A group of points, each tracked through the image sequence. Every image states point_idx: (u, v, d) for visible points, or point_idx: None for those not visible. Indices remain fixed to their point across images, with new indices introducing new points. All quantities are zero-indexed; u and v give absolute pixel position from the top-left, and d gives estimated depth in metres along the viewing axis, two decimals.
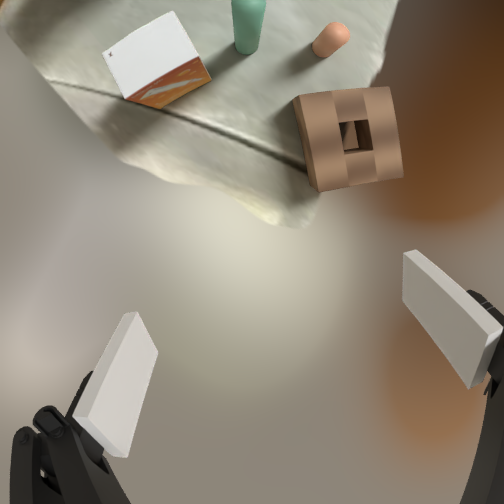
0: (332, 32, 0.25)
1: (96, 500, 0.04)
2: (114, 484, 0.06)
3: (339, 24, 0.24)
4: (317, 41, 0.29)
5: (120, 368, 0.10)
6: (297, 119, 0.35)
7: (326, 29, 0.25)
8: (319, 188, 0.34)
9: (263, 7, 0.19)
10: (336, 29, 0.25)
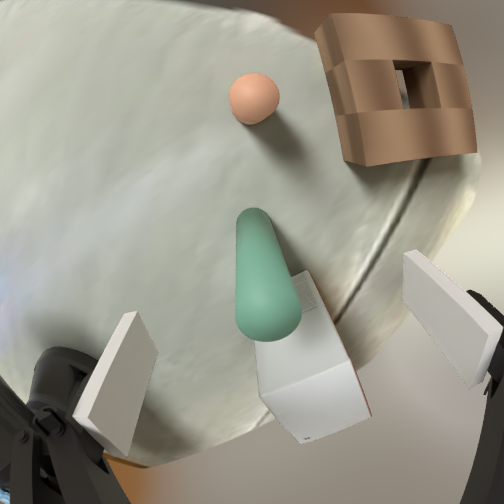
0: (255, 106, 0.16)
1: (96, 500, 0.04)
2: (114, 484, 0.06)
3: (233, 92, 0.15)
4: (254, 122, 0.20)
5: (121, 368, 0.10)
6: None
7: (250, 117, 0.16)
8: (473, 151, 0.19)
9: (281, 291, 0.13)
10: (246, 98, 0.16)
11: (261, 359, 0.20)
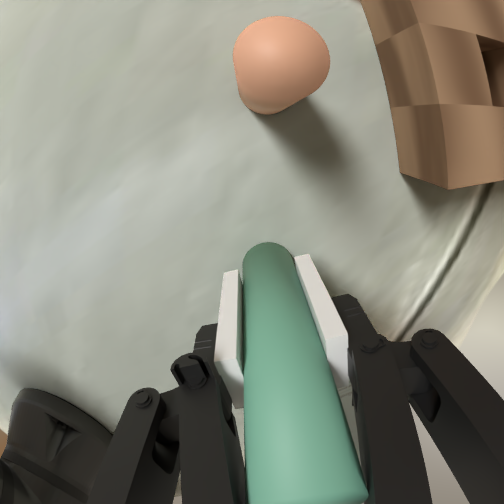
0: (284, 74, 0.08)
1: (223, 470, 0.05)
2: (238, 449, 0.08)
3: (241, 47, 0.07)
4: (276, 109, 0.12)
5: (240, 317, 0.12)
6: None
7: (274, 95, 0.08)
8: None
9: (341, 492, 0.04)
10: (267, 59, 0.07)
11: None
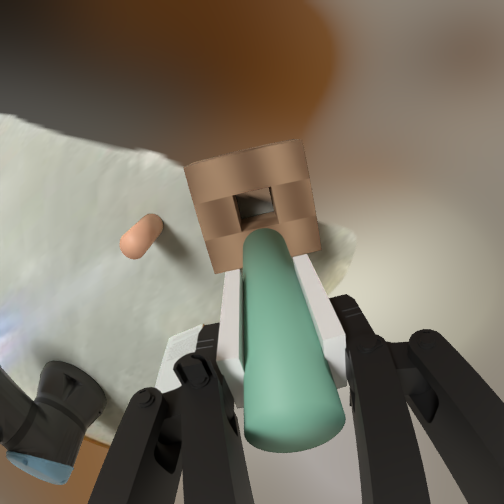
0: (133, 251, 0.29)
1: (225, 470, 0.05)
2: (240, 448, 0.08)
3: (121, 244, 0.28)
4: None
5: (242, 316, 0.12)
6: None
7: (132, 257, 0.29)
8: (317, 249, 0.32)
9: (319, 404, 0.07)
10: (128, 247, 0.29)
11: (158, 381, 0.33)
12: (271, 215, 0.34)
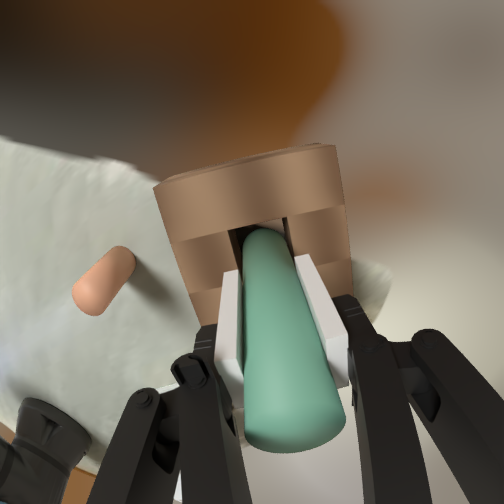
0: (91, 305, 0.19)
1: (222, 470, 0.05)
2: (237, 449, 0.08)
3: (74, 295, 0.19)
4: None
5: (240, 317, 0.12)
6: None
7: (91, 313, 0.19)
8: None
9: (320, 404, 0.07)
10: (84, 299, 0.19)
11: None
12: None
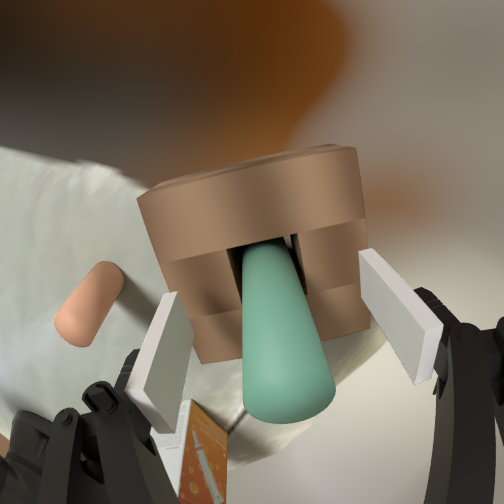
0: (77, 337, 0.16)
1: (142, 485, 0.05)
2: (160, 467, 0.07)
3: (57, 326, 0.16)
4: None
5: (167, 343, 0.11)
6: None
7: (77, 345, 0.16)
8: (363, 328, 0.19)
9: (311, 371, 0.08)
10: (68, 331, 0.16)
11: None
12: None
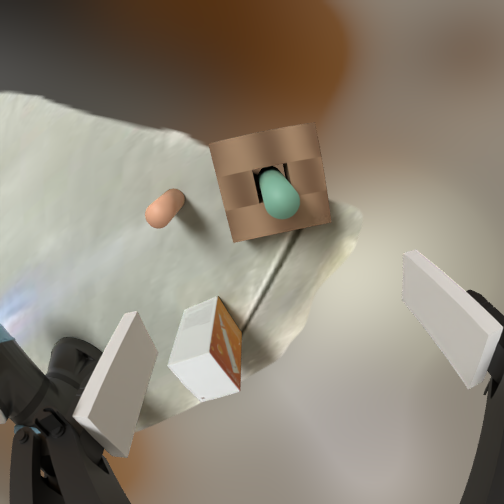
0: (159, 221, 0.32)
1: (96, 500, 0.04)
2: (114, 484, 0.06)
3: (147, 215, 0.32)
4: None
5: (120, 368, 0.10)
6: None
7: (158, 227, 0.32)
8: (327, 221, 0.34)
9: (289, 187, 0.24)
10: (154, 217, 0.32)
11: (174, 347, 0.36)
12: None
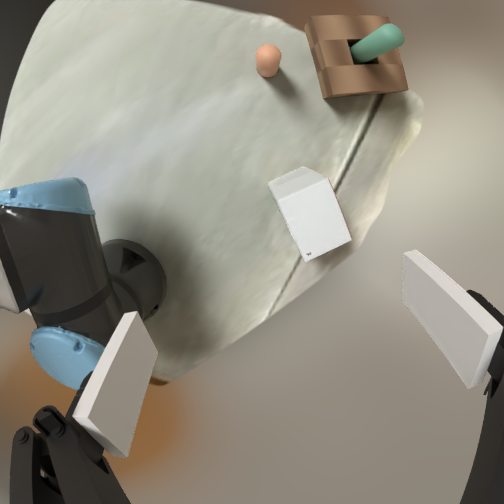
0: (270, 59, 0.29)
1: (96, 500, 0.04)
2: (114, 484, 0.06)
3: (258, 55, 0.29)
4: (272, 71, 0.33)
5: (120, 368, 0.10)
6: (342, 96, 0.37)
7: (270, 64, 0.30)
8: (405, 89, 0.32)
9: (395, 26, 0.22)
10: (265, 56, 0.29)
11: (276, 193, 0.33)
12: None
